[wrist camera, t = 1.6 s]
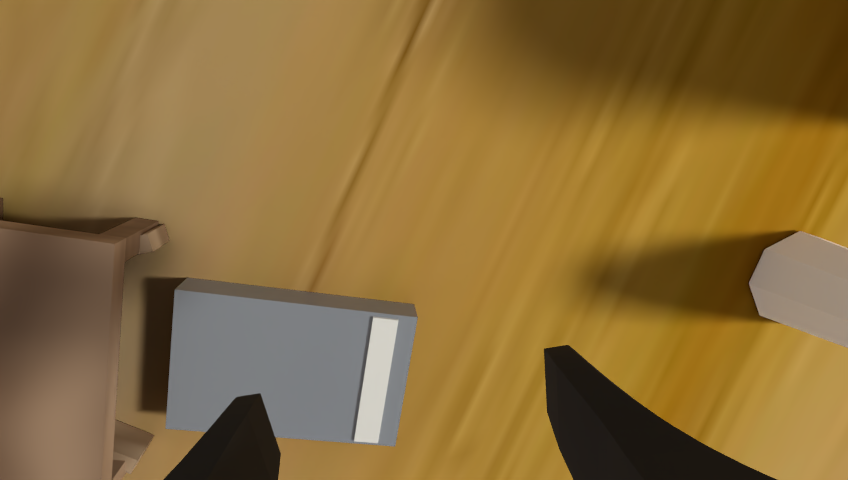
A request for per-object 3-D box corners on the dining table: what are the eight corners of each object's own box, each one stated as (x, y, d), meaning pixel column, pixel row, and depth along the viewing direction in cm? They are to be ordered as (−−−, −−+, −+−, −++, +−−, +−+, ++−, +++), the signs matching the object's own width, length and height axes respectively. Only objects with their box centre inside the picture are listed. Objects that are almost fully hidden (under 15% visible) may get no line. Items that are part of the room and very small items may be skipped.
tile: (413, 301, 27) (417, 318, 24) (392, 421, 28) (395, 448, 26) (190, 274, 25) (173, 290, 23) (181, 403, 27) (164, 430, 24)
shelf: (171, 222, 24) (129, 246, 20) (152, 450, 26) (113, 514, 22) (-23, 194, 23) (-111, 213, 18) (-22, 436, 25) (-100, 501, 21)
